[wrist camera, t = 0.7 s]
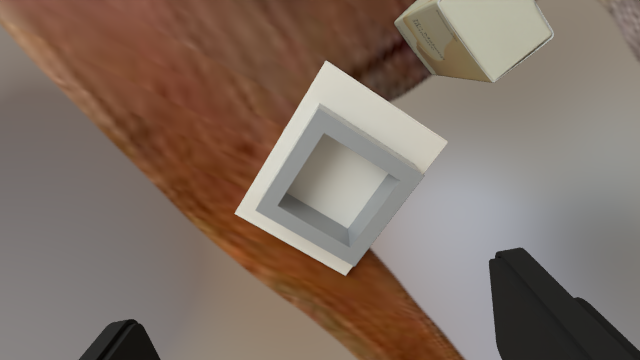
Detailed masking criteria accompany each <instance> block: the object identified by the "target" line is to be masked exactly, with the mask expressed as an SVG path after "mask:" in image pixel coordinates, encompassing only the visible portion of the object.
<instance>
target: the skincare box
mask: <svg viewBox="0 0 640 360" xmlns="http://www.w3.org/2000/svg"><path fill="white" fill-rule="evenodd" d="M394 24H395V26H396V27H397V29H398V30H399V32H400V33H401V34H402V36H403V37H404V39H405V40H406V41H407V43H408V44H409V46H410V47H411V48H412V50H413V51H414V52H415V54H416V55H417V56H418V57H419V59H420V60H421V61H422V62H423V64H424V65H425V66H426V67H427V69H428V70H429V71H430V72H431V73H432V74H433V75H440V76H448V77H455V78H462V79H469V80H477V81H484V82H491V83H494V82H496V81H497V80H499V79H500V78H501V77H502V76H504V75H505V74H507V73H508V72H509V71H511V70H512V69H513V68H515V67H516V66H518V65H519V64H520V63H521V62H523V61H524V60H525V59H527V58H528V57H529V56H530V55H532V54H533V53H535V52H536V51H537V50H538V49H540V48H541V47H542V46H543V45H545V44H546V43H547V42H548V41H550V40H551V39H552V38H553V36H554V32H553V30H552V29H551V27H550V26H549V24H548V22H547V20H546V19H545V17H544V16H543V14H542V12H541V11H540V9H539V7H538V6H537V4H536V2H535V0H417V1H416V2H415V3H414V4H412V5H411V6H410V7H409V8H408V9H407V10H406V11H405V12H404V13H403V14H402V15H401V16H400V17H399V18H398V19H397V20H396V21H395V22H394Z"/></svg>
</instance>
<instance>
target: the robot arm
mask: <svg viewBox="0 0 640 360" xmlns="http://www.w3.org/2000/svg"><path fill="white" fill-rule="evenodd" d="M489 269H490V280H491V291H492V301H493V312H494V324H495V333H496V343H497V348H498V351H499V354H500V356H501V358H502V360H640V351H639V350H638V349H637V348H636V347H635V346H633V344H631V343H630V342H629V341H628V340H627V339H626V338H625V337H624V336H623V335H622V334H621V333H620V332H619V331H618V330H617V329H616V328H615V327H614V326H613V325H611V324H610V323H609V322H608V321H607V320H606V319H605V318H604V317H603V316H602V315H601V314H600V313H599V312H598V311H597V310H596V309H595V308H594V307H593V306H592V305H591V304H589V303H588V302H587V301H585V300H584V299H582V298H579V297H577V298H573V297H572V296H571V295H570V294H569V293H568V292H567V291H566V290H565V289H564V288H563V287H562V286H561V285H560V284H559V283H558V282H557V281H556V280H555V279H554V278H553V277H552V276H551V275H550V274H549V273H548V272H547V271H546V270H545V269H544V268H543V267H542V266H541V265H540V264H539V263H538V262H537V261H536V260H535V259H534V258H533V257H532V256H531V255H530V254H529V253H528V252H527V251H526V250H524V249H523V248H515V249H510V250H504V251H499V252H497V253H496V255H495V259H490V261H489ZM79 360H160V358H159V356H158V354H157V352H156V350H155V348H154V346H153V344H152V342H151V340H150V338H149V336H148V334H147V333H146V331H145V329H144V327H143V326H142V325H141V324H138V322H137V321H136V320H134V319H129V320H124V321H118V322H113V323H111V324H109V325H108V326H107V327H106V328H105V329H104V330H103V331H102V333H101V334H100V335H99V336H98V337H97V339H96V340H95V341H94V342H93V343H92V344H91V346H90V347H89V348H88V349H87V350H86V352H85V353H84V354H83V355H82V356H81V358H80V359H79Z"/></svg>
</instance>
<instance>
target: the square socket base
mask: <svg viewBox="0 0 640 360" xmlns="http://www.w3.org/2000/svg"><path fill="white" fill-rule="evenodd" d="M447 143H448V141H446V140H445V139H443V138H442V137H440V136H439V135H437V134H435V133H434V132H432V131H431V130H430V129H428V128H427V127H425V126H424V125H422V124H420V123H419V122H417V121H416V120H414V119H413V118H411V117H410V116H409V115H407V114H406V113H404V112H403V111H401V110H400V109H398V108H397V107H395V106H394V105H392V104H391V103H389V102H388V101H386V100H385V99H383V98H382V97H380V96H379V95H377V94H376V93H374V92H373V91H371V90H370V89H368V88H367V87H365V86H364V85H362V84H361V83H359V82H358V81H356V80H355V79H353V78H352V77H350V76H349V75H347V74H346V73H344V72H343V71H341V70H340V69H338V68H337V67H335V66H334V65H332V64H331V63H329V62H328V61H325V63H324V65H323V66H322V68H321V70H320V71H319V73H318V75H317V76H316V78H315V80H314V82H313V83H312V85H311V87H310V88H309V90H308V92H307V93H306V95H305V97H304V98H303V100H302V102H301V103H300V105H299V107H298V108H297V110H296V112H295V113H294V115H293V117H292V118H291V120H290V122H289V123H288V125H287V127H286V128H285V130H284V132H283V133H282V135H281V137H280V138H279V140H278V142H277V143H276V145H275V147H274V148H273V150H272V152H271V154H270V155H269V157H268V159H267V160H266V162H265V164H264V165H263V167H262V169H261V170H260V172H259V174H258V175H257V177H256V179H255V180H254V182H253V184H252V185H251V187H250V189H249V190H248V192H247V194H246V195H245V197H244V199H243V200H242V202H241V204H240V205H239V207H238V209H237V210H236V212H235V214H236V215H238V216H240V217H241V218H243V219H245V220H247V221H249V222H250V223H252V224H254V225H256V226H258V227H259V228H261V229H263V230H265V231H266V232H268V233H270V234H272V235H274V236H275V237H277V238H279V239H281V240H283V241H284V242H286V243H288V244H290V245H291V246H293V247H295V248H297V249H299V250H300V251H302V252H304V253H306V254H308V255H309V256H311V257H313V258H315V259H317V260H318V261H320V262H322V263H324V264H325V265H327V266H329V267H331V268H333V269H334V270H336V271H338V272H340V273H342V274H343V275H345V276H346V274H347V273H348V272H349V270H350V269H351V268H352V267H353V266H354V267H355V265H356V264H357V263H358V261H359V260H360V259H361V258H362V256H363V255H364V254H365V252H366V251H367V250H368V248H369V247H370V246H371V244H372V243H373V242H374V241H375V239H376V238H377V236H379V234H380V233H381V232H382V230H383V229H384V228H385V226H386V225H387V224H388V222H389V221H390V220H391V219H392V217H393V216H394V215H395V213H396V212H397V211H398V209H399V208H400V207H401V206H402V204H403V203H404V202H405V200H406V199H407V198H408V196H409V195H410V194H411V193H412V191H413V190H414V189H415V187H416V186H417V185H418V184H419V182H420V181H421V180H422V178H423V177H424V175H423V174H424V173H425V172H426V170H427V169H428V168H429V166H430V165H431V164H432V162H433V161H434V160H435V159H436V157H437V156H438V155H439V153H440V152H441V151H442V149H443V148H444V147H445V145H446V144H447Z"/></svg>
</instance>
